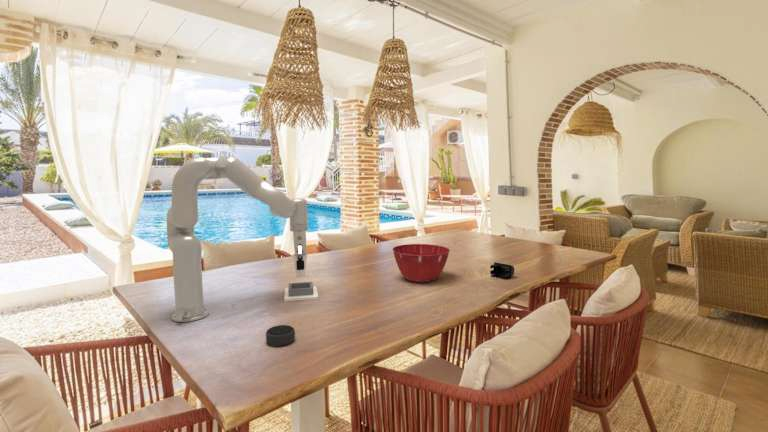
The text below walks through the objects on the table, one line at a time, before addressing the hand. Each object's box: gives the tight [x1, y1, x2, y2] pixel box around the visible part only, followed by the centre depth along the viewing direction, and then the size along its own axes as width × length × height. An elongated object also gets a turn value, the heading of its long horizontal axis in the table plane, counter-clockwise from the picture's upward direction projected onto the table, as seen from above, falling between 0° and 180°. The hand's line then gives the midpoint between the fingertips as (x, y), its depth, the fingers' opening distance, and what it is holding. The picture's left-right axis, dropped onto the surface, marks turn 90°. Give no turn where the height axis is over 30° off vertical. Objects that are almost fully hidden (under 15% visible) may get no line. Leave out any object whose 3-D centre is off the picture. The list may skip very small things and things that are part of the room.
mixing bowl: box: [392, 243, 451, 284], centre depth 201 cm, size 28×28×15 cm
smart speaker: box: [265, 324, 296, 347], centre depth 129 cm, size 9×9×4 cm
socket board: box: [283, 281, 319, 302], centre depth 178 cm, size 16×14×4 cm
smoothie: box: [292, 253, 308, 278], centre depth 176 cm, size 6×6×14 cm
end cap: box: [489, 262, 515, 281], centre depth 204 cm, size 10×7×7 cm
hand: (300, 267), depth 177 cm, fingers closed on smoothie, 6 cm apart
